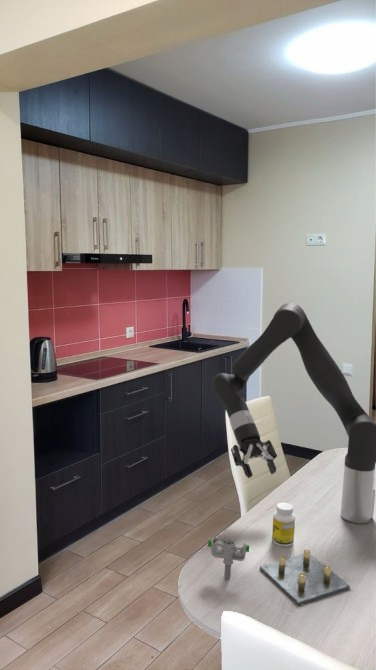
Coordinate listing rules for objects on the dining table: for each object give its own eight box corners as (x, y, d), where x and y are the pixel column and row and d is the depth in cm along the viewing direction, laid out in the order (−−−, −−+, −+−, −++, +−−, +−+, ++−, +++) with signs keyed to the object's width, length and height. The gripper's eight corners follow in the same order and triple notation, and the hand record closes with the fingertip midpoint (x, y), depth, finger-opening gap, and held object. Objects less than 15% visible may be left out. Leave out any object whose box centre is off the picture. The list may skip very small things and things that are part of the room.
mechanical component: (246, 585, 130) (248, 548, 129) (206, 579, 132) (207, 542, 131) (247, 578, 133) (249, 541, 132) (208, 572, 135) (209, 536, 134)
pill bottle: (269, 536, 154) (271, 501, 153) (290, 536, 155) (292, 501, 153) (274, 547, 148) (276, 511, 147) (296, 547, 149) (298, 511, 147)
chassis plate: (308, 556, 144) (309, 541, 144) (349, 589, 130) (351, 572, 130) (259, 569, 137) (260, 553, 137) (298, 606, 123) (299, 588, 123)
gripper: (229, 424, 162) (247, 473, 154) (267, 419, 169) (287, 466, 160) (220, 435, 168) (237, 483, 159) (257, 430, 174) (275, 476, 166)
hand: (262, 475), depth 160 cm, fingers open, 8 cm apart
